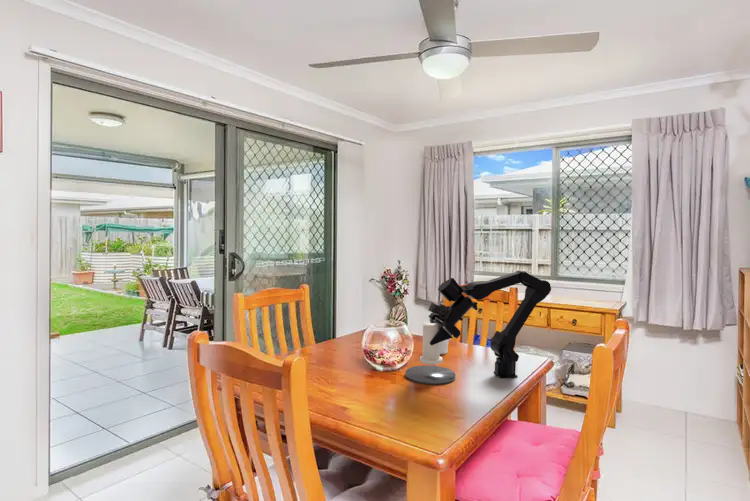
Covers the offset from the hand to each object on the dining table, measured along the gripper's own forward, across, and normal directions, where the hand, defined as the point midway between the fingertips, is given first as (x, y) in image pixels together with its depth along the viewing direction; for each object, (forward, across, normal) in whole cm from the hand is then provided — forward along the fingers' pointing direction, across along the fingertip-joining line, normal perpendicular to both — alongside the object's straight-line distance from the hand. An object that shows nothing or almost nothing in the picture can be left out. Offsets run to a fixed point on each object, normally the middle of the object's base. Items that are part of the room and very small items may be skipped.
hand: (427, 342), depth 158 cm
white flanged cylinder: (+4, 0, +6) cm, 7 cm away
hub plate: (+8, -3, +11) cm, 14 cm away
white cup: (-2, -33, +21) cm, 39 cm away
